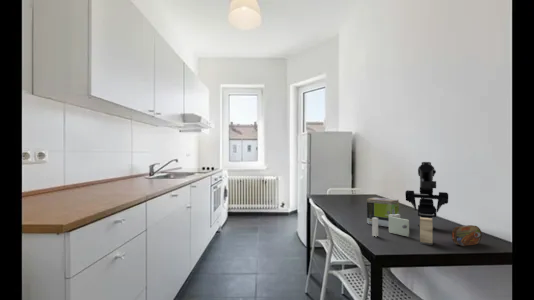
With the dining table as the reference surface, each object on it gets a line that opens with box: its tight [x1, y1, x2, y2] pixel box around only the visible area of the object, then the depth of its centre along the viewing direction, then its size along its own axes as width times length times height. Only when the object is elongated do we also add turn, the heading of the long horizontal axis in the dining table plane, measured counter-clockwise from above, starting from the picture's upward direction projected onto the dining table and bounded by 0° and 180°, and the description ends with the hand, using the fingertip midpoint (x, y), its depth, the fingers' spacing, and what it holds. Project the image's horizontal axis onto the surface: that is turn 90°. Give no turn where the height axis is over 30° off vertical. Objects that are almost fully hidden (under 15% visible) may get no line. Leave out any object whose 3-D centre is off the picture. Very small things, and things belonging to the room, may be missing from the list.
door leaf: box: [388, 217, 410, 238], centre depth 152 cm, size 10×2×8 cm, turn 36°
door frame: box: [371, 213, 401, 238], centre depth 155 cm, size 22×2×9 cm, turn 126°
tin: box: [451, 224, 482, 247], centre depth 137 cm, size 15×3×8 cm, turn 106°
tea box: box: [366, 197, 400, 228], centre depth 175 cm, size 15×10×15 cm, turn 45°
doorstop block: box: [419, 216, 434, 246], centre depth 139 cm, size 5×5×11 cm
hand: (426, 210), depth 145 cm, fingers open, 9 cm apart
